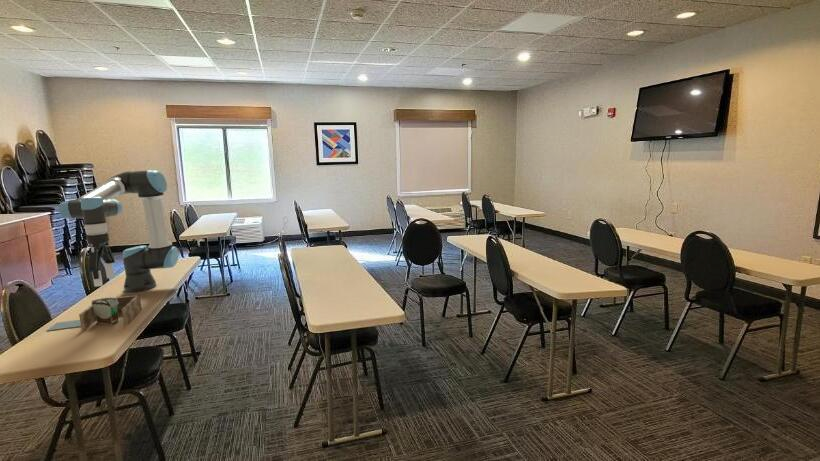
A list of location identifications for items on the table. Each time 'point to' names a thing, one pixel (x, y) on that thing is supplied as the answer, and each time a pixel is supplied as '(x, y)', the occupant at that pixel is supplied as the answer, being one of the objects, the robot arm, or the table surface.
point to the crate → (126, 306)
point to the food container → (106, 310)
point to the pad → (65, 325)
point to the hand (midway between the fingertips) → (105, 281)
